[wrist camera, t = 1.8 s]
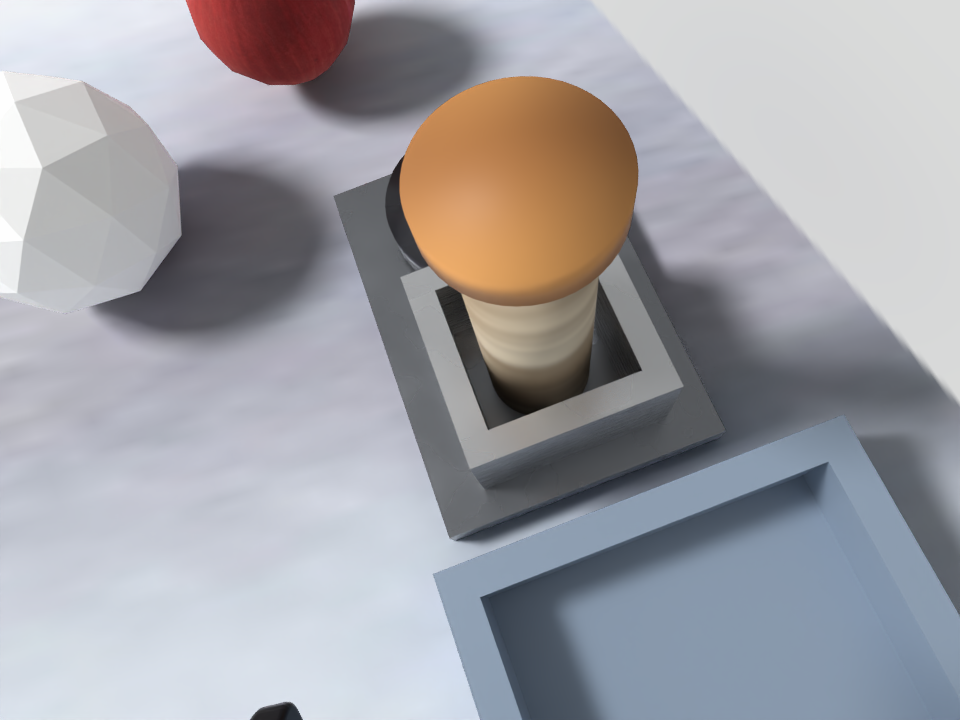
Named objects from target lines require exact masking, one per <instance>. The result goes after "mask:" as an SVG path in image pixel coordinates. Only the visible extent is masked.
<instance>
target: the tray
mask: <svg viewBox="0 0 960 720" xmlns="http://www.w3.org/2000/svg"><path fill="white" fill-rule="evenodd" d="M433 576H434V579H435V582H436V585H437V588H438V591H439V594H440V597H441V600H442V603H443V606H444V610H445V613H446V616H447V619H448V622H449V625H450V628H451V631H452V634H453V637H454V640H455V643H456V646H457V649H458V653H459V656H460V659H461V662H462V665H463V668H464V671H465V674H466V677H467V680H468V683H469V686H470V689H471V692H472V696H473V699H474V702H475V705H476V708H477V711H478V714H479V717H480V720H960V616H959V614H958V612H957V610H956V609H955V607H954V605H953V603H952V602H951V600H950V598H949V596H948V595H947V593H946V591H945V590H944V588H943V586H942V584H941V583H940V581H939V579H938V577H937V576H936V574H935V572H934V570H933V569H932V567H931V565H930V563H929V562H928V560H927V558H926V556H925V555H924V553H923V551H922V549H921V548H920V546H919V544H918V543H917V541H916V539H915V537H914V536H913V534H912V532H911V530H910V529H909V527H908V525H907V523H906V522H905V520H904V518H903V516H902V515H901V513H900V511H899V509H898V508H897V506H896V504H895V502H894V501H893V499H892V497H891V496H890V494H889V492H888V490H887V489H886V487H885V485H884V483H883V482H882V480H881V478H880V476H879V475H878V473H877V471H876V469H875V468H874V466H873V464H872V462H871V461H870V459H869V457H868V455H867V454H866V452H865V450H864V448H863V447H862V445H861V443H860V442H859V440H858V438H857V436H856V435H855V433H854V431H853V429H852V428H851V426H850V424H849V422H848V421H847V419H846V417H845V415H841V416H838V417H836V418H833V419H831V420H828V421H826V422H823V423H820V424H818V425H815V426H813V427H810V428H808V429H805V430H802V431H800V432H797V433H795V434H792V435H790V436H787V437H784V438H782V439H779V440H777V441H774V442H772V443H769V444H766V445H764V446H761V447H759V448H756V449H754V450H751V451H748V452H746V453H743V454H741V455H738V456H736V457H733V458H730V459H728V460H725V461H723V462H720V463H718V464H715V465H712V466H710V467H707V468H705V469H702V470H700V471H697V472H694V473H692V474H689V475H687V476H684V477H682V478H679V479H676V480H674V481H671V482H669V483H666V484H664V485H661V486H658V487H656V488H653V489H651V490H648V491H646V492H643V493H640V494H638V495H635V496H633V497H630V498H628V499H625V500H622V501H620V502H617V503H615V504H612V505H610V506H607V507H604V508H602V509H599V510H597V511H594V512H592V513H589V514H586V515H584V516H581V517H579V518H576V519H574V520H571V521H568V522H566V523H563V524H561V525H558V526H556V527H553V528H550V529H548V530H545V531H543V532H540V533H538V534H535V535H532V536H530V537H527V538H525V539H522V540H520V541H517V542H514V543H512V544H509V545H507V546H504V547H502V548H499V549H496V550H494V551H491V552H489V553H486V554H484V555H481V556H478V557H476V558H473V559H471V560H468V561H466V562H463V563H460V564H458V565H455V566H453V567H450V568H448V569H445V570H442V571H440V572H437V573H435V574H433Z"/></svg>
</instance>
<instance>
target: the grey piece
mask: <svg viewBox="0 0 960 720" xmlns="http://www.w3.org/2000/svg"><path fill="white" fill-rule="evenodd" d="M404 156H405V155H404ZM404 156H403V157H402V158H401V160H400V161H399V163H398V164H397V166H396V167H395V169H394V171H393V173H392V174H390V175H388V176H385V177H382V178H380V179H377V180H375V181H372V182H369V183H367V184H364V185H361V186H359V187H356V188H354V189H351V190H348V191H346V192H343V193H341V194H338V195H335V196H334V199H335V202H336V205H337V208H338V211H339V214H340V217H341V220H342V223H343V226H344V229H345V232H346V235H347V237H348V240H349V243H350V246H351V249H352V252H353V255H354V258H355V261H356V264H357V267H358V270H359V273H360V276H361V279H362V282H363V285H364V288H365V290H366V293H367V296H368V299H369V302H370V305H371V308H372V311H373V314H374V317H375V320H376V323H377V326H378V329H379V332H380V335H381V338H382V341H383V343H384V346H385V349H386V352H387V355H388V358H389V361H390V364H391V367H392V370H393V373H394V376H395V379H396V382H397V385H398V388H399V391H400V394H401V396H402V399H403V402H404V405H405V408H406V411H407V414H408V417H409V420H410V423H411V426H412V429H413V432H414V435H415V438H416V441H417V444H418V447H419V449H420V452H421V455H422V458H423V461H424V464H425V467H426V470H427V473H428V476H429V479H430V482H431V485H432V488H433V491H434V494H435V497H436V499H437V502H438V505H439V508H440V511H441V514H442V517H443V520H444V523H445V526H446V529H447V532H448V535H449V538H450V539H452V540H454V541H455V540H458V539H461V538H463V537H466V536H468V535H471V534H473V533H476V532H479V531H481V530H484V529H486V528H489V527H492V526H494V525H497V524H499V523H502V522H504V521H507V520H510V519H512V518H515V517H517V516H520V515H522V514H525V513H528V512H530V511H533V510H535V509H538V508H540V507H543V506H546V505H548V504H551V503H553V502H556V501H558V500H561V499H564V498H566V497H569V496H571V495H574V494H576V493H579V492H582V491H584V490H587V489H589V488H592V487H594V486H597V485H600V484H602V483H605V482H607V481H610V480H612V479H615V478H618V477H620V476H623V475H625V474H628V473H630V472H633V471H636V470H638V469H641V468H643V467H646V466H648V465H651V464H654V463H656V462H659V461H661V460H664V459H667V458H669V457H672V456H674V455H677V454H679V453H682V452H685V451H687V450H690V449H692V448H695V447H697V446H700V445H703V444H705V443H708V442H710V441H713V440H715V439H718V438H720V437H721V436H722V435H723V434H724V432H725V431H726V430H725V428H724V426H723V424H722V422H721V420H720V418H719V416H718V414H717V412H716V410H715V408H714V406H713V404H712V402H711V400H710V398H709V396H708V394H707V392H706V390H705V388H704V386H703V384H702V382H701V380H700V378H699V376H698V374H697V372H696V370H695V368H694V366H693V364H692V362H691V361H690V359H689V357H688V355H687V353H686V351H685V349H684V347H683V345H682V343H681V341H680V339H679V337H678V335H677V333H676V331H675V329H674V327H673V325H672V323H671V321H670V319H669V317H668V315H667V313H666V311H665V309H664V307H663V305H662V303H661V301H660V299H659V297H658V295H657V293H656V291H655V289H654V287H653V285H652V284H651V282H650V280H649V278H648V276H647V274H646V272H645V270H644V268H643V266H642V264H641V262H640V260H639V258H638V256H637V254H636V252H635V250H634V248H633V246H632V244H631V242H630V240H629V238H628V236H627V237H626V240H625V242H624V244H623V246H622V248H621V250H620V252H619V253H618V255H617V256H616V257H615V259H614V260H613V262H612V263H611V264H610V265H609V266H608V267H607V268H606V269H605V271H604V272H603V273H602V274H601V275H599V280H598V290H597V300H596V310H595V320H594V330H593V340H592V350H591V360H590V370H589V378H588V382H587V385H586V387H585V389H584V391H583V393H582V394H580V395H578V396H575V397H572V398H570V399H567V400H565V401H562V402H560V403H557V404H554V405H552V406H549V407H547V408H544V409H541V410H539V411H536V412H534V413H531V414H529V415H525V414H522V413H519V412H517V411H515V410H513V409H512V408H510V407H509V406H507V405H506V404H505V403H504V402H503V401H502V400H501V399H500V398H499V396H498V395H497V393H496V391H495V389H494V387H493V385H492V382H491V379H490V376H489V373H488V370H487V367H486V364H485V361H484V358H483V355H482V352H481V350H480V347H479V344H478V341H477V338H476V335H475V332H474V329H473V326H472V323H471V320H470V317H469V314H468V312H467V309H466V306H465V303H464V300H463V297H462V294H461V293H460V292H458V291H457V290H455V289H453V288H452V287H450V286H449V285H447V284H446V283H445V282H444V281H443V280H442V279H440V278H439V277H438V276H437V275H436V274H435V273H434V271H433V270H432V269H431V268H430V267H429V266H428V264H427V263H426V261H425V260H424V258H423V257H422V255H421V253H420V251H419V248H418V246H417V244H416V242H415V239H414V237H413V235H412V232H411V230H410V227H409V225H408V223H407V220H406V218H405V215H404V212H403V208H402V205H401V198H400V173H401V167H402V163H403V160H404Z"/></svg>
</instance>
